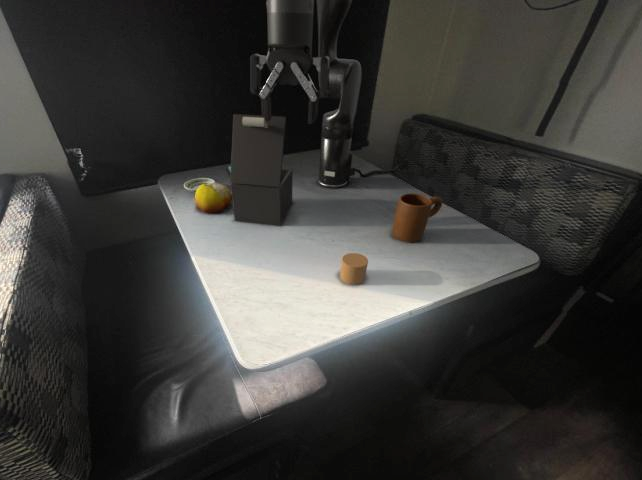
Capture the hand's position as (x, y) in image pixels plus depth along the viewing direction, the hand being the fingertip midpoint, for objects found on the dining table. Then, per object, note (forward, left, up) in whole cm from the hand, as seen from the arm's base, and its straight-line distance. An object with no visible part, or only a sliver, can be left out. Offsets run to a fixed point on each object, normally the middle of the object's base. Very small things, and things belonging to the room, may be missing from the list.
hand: (289, 121), depth 64 cm
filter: (-4, +19, -26) cm, 33 cm away
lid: (0, -15, -9) cm, 18 cm away
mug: (-29, +12, -27) cm, 41 cm away
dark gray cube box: (-2, -18, -26) cm, 32 cm away
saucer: (+9, -41, -27) cm, 49 cm away
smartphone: (-8, -47, -26) cm, 54 cm away
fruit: (+9, -28, -27) cm, 39 cm away
